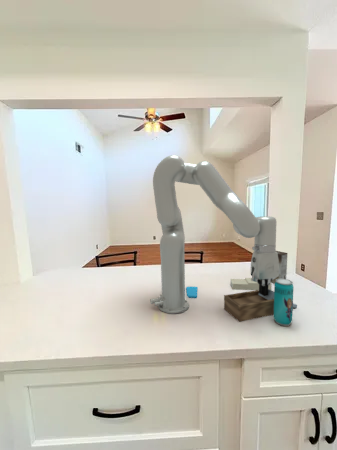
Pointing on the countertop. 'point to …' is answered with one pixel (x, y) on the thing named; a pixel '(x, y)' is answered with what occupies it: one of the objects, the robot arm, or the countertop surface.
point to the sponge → (191, 292)
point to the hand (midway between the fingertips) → (263, 294)
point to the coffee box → (281, 266)
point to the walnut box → (248, 305)
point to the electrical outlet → (245, 284)
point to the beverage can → (283, 302)
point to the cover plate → (272, 296)
